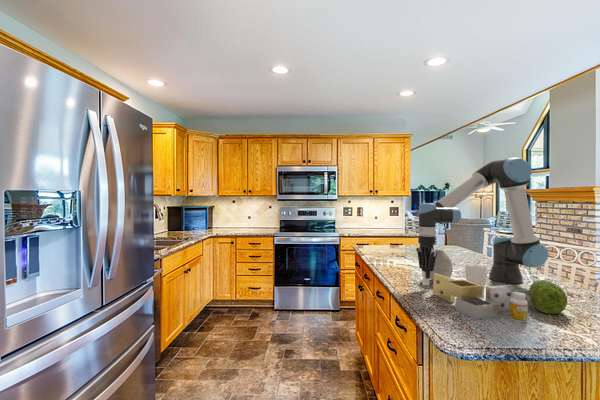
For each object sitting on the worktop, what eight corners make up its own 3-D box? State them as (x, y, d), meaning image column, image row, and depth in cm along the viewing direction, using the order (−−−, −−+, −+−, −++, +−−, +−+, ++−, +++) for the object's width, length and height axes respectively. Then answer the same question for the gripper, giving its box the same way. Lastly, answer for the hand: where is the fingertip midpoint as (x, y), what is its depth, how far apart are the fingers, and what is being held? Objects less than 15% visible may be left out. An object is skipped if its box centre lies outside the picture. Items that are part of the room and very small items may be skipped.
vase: (439, 277, 172) (440, 247, 172) (458, 283, 160) (458, 251, 160) (420, 279, 168) (421, 248, 168) (438, 285, 156) (438, 252, 156)
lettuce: (557, 303, 133) (558, 276, 132) (570, 319, 115) (571, 289, 114) (524, 298, 138) (524, 273, 138) (531, 313, 120) (532, 284, 120)
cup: (489, 294, 143) (490, 268, 143) (468, 293, 145) (468, 267, 144) (482, 288, 152) (483, 264, 151) (462, 287, 153) (462, 263, 153)
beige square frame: (444, 293, 144) (444, 272, 144) (482, 310, 124) (482, 286, 123) (425, 294, 142) (425, 273, 142) (461, 312, 121) (461, 287, 121)
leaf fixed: (501, 304, 130) (501, 282, 129) (523, 313, 120) (524, 289, 120) (455, 309, 124) (455, 285, 124) (475, 319, 114) (475, 293, 114)
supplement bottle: (507, 316, 118) (507, 290, 117) (523, 317, 116) (524, 291, 116) (512, 321, 112) (512, 294, 112) (529, 323, 111) (530, 296, 111)
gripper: (411, 233, 154) (410, 281, 155) (428, 237, 142) (427, 289, 142) (424, 233, 156) (424, 280, 157) (443, 237, 144) (442, 288, 144)
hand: (425, 284), depth 149 cm, fingers closed
